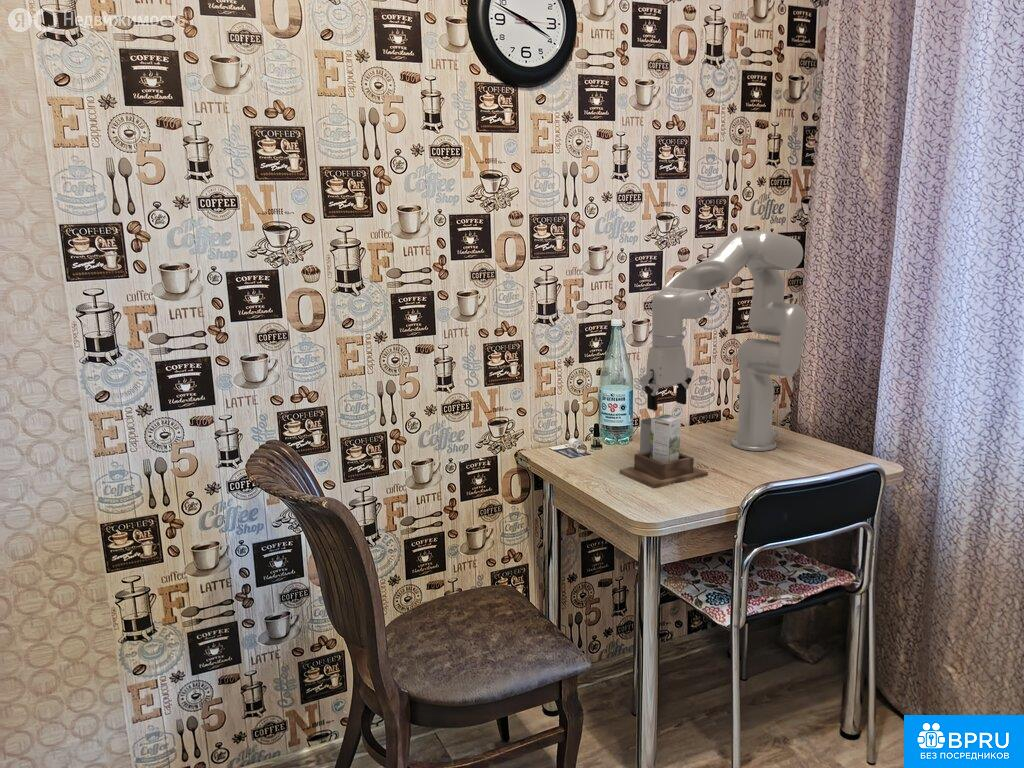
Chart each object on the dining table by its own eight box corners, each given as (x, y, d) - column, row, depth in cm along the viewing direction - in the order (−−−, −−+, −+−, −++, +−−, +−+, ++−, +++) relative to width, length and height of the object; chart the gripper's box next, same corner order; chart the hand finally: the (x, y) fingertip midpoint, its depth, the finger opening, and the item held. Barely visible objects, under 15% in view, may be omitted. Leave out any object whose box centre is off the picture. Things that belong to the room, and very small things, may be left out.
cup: (642, 460, 210) (643, 425, 208) (637, 451, 218) (637, 418, 216) (672, 459, 210) (673, 425, 208) (666, 451, 219) (666, 417, 216)
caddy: (671, 461, 208) (671, 444, 207) (707, 475, 197) (708, 457, 196) (619, 473, 200) (619, 455, 199) (654, 488, 188) (654, 469, 187)
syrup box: (660, 465, 202) (661, 413, 199) (679, 470, 198) (681, 416, 195) (648, 471, 198) (650, 417, 195) (668, 475, 194) (670, 421, 191)
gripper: (682, 335, 198) (682, 398, 202) (630, 343, 190) (631, 409, 194) (703, 339, 192) (702, 404, 196) (650, 347, 184) (650, 415, 187)
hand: (666, 406), depth 195 cm, fingers open, 9 cm apart
